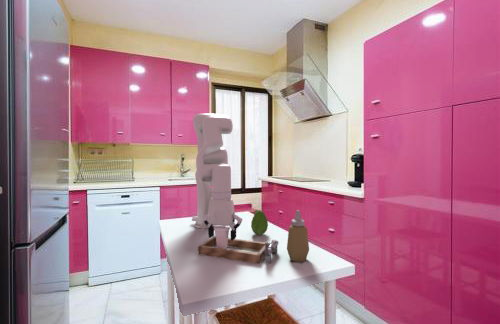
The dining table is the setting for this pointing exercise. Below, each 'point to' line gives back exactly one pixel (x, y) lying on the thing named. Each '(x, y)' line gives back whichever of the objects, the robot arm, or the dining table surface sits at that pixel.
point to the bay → (248, 253)
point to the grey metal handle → (270, 250)
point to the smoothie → (222, 235)
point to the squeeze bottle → (298, 239)
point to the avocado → (259, 223)
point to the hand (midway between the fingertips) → (222, 238)
